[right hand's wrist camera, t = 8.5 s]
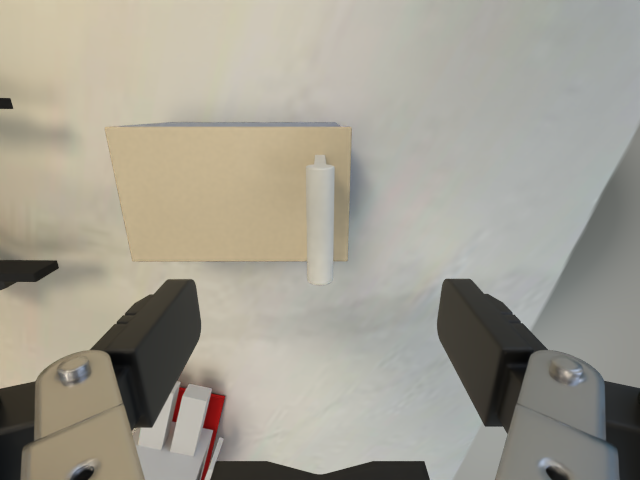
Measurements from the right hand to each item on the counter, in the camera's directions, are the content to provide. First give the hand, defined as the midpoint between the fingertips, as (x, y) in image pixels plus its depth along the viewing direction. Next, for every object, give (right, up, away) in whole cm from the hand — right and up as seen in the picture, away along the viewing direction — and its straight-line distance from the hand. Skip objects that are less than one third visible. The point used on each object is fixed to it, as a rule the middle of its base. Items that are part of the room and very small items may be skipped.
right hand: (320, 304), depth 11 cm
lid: (-6, +5, +14) cm, 16 cm away
